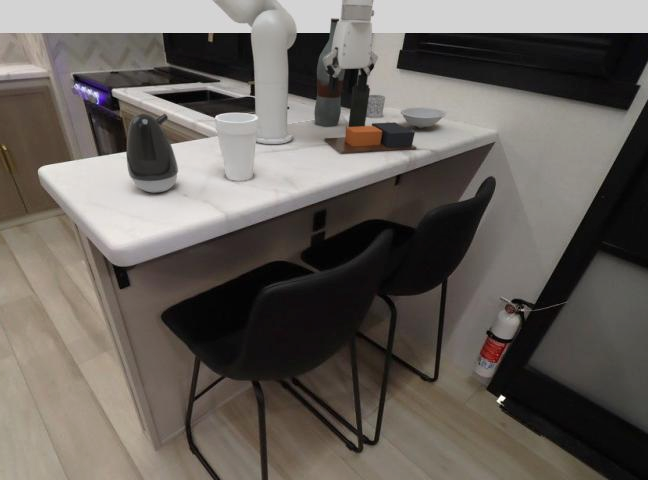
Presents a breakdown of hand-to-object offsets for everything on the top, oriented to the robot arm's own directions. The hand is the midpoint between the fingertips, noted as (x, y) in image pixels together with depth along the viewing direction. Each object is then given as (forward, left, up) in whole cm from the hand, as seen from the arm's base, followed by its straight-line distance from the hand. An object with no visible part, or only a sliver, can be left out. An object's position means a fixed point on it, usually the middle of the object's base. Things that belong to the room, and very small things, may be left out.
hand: (347, 92), depth 104 cm
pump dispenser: (-53, -23, -14) cm, 59 cm away
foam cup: (-34, -19, -14) cm, 41 cm away
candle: (+12, +17, -14) cm, 25 cm away
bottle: (+5, +26, -14) cm, 31 cm away
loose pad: (+7, 0, -14) cm, 15 cm away
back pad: (+16, 0, -14) cm, 21 cm away
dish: (+36, +16, -14) cm, 42 cm away
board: (+9, 0, -14) cm, 17 cm away
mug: (+26, +36, -14) cm, 47 cm away
